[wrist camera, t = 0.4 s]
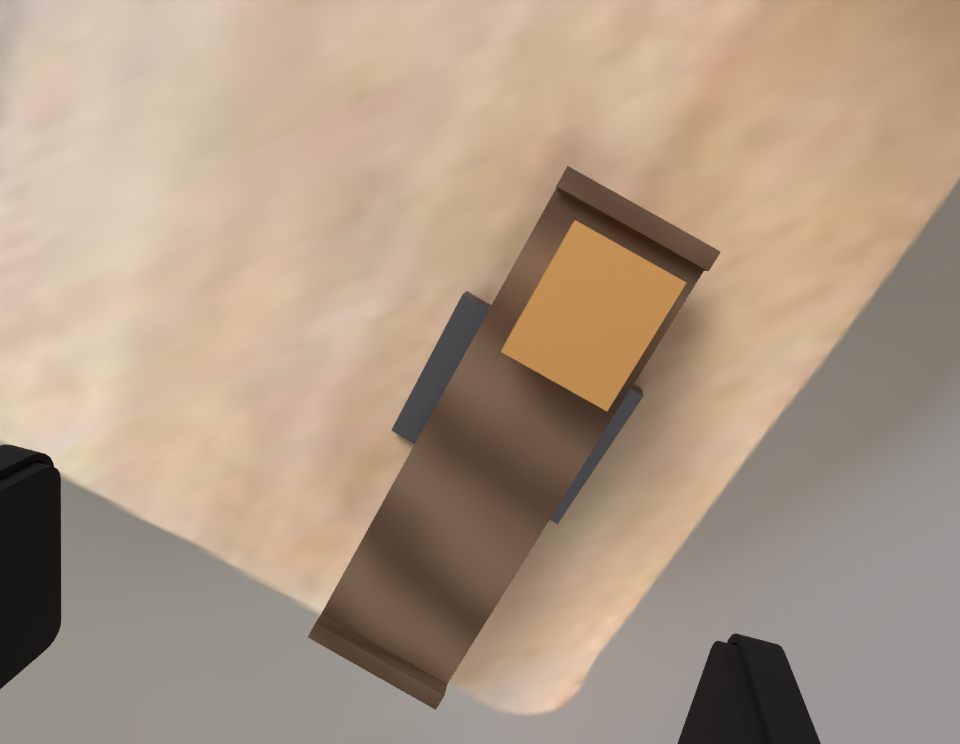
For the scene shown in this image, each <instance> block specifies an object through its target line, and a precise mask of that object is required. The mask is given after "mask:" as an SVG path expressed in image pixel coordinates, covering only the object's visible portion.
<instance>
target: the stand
mask: <svg viewBox="0 0 960 744" xmlns="http://www.w3.org/2000/svg"><path fill="white" fill-rule="evenodd" d="M491 306H492V305H490V304H488V303H486V302H485V301H483V300H481V299H479V298H477V297H476V296H474V295H472V294H470V293H469V292H467V291H466V292H465V293H464V294H463V295H462V297H461V299H460V301H459V303H458V305H457V306H456V308H455V310H454V312H453V314H452V316H451V318H450V320H449V322H448V324H447V325H446V327H445V329H444V331H443V333H442V335H441V337H440V339H439V341H438V343H437V345H436V346H435V348H434V350H433V352H432V354H431V356H430V358H429V360H428V362H427V364H426V366H425V367H424V369H423V371H422V373H421V375H420V377H419V379H418V381H417V383H416V385H415V387H414V388H413V390H412V392H411V394H410V396H409V398H408V400H407V402H406V404H405V406H404V408H403V409H402V411H401V413H400V415H399V417H398V419H397V421H396V423H395V425H394V427H393V429H392V431H394V432H395V433H397V434H399V435H401V436H403V437H404V438H406V439H408V440H410V441H411V442H413V443H416V442H417V440H418V438H419V436H420V434H421V433H422V431H423V429H424V427H425V425H426V423H427V422H428V420H429V418H430V416H431V414H432V413H433V411H434V409H435V407H436V405H437V404H438V402H439V400H440V398H441V396H442V394H443V393H444V391H445V389H446V387H447V385H448V384H449V382H450V380H451V378H452V376H453V375H454V373H455V371H456V369H457V367H458V365H459V364H460V362H461V360H462V358H463V356H464V355H465V353H466V351H467V349H468V347H469V346H470V344H471V342H472V340H473V338H474V337H475V335H476V333H477V331H478V329H479V327H480V326H481V324H482V322H483V320H484V318H485V317H486V315H487V313H488V311H489V309H490V308H491ZM642 397H643V391H642V390H641V389H639V388H638V387H636V386H634V385H633V386H632V387H631V389H630V390H629V392H628V394H627V395H626V397H625V398H624V400H623V402H622V403H621V405H620V406H619V408H618V410H617V411H616V413H615V415H614V416H613V418H612V419H611V421H610V423H609V424H608V426H607V427H606V429H605V431H604V432H603V434H602V435H601V437H600V439H599V440H598V442H597V444H596V445H595V447H594V448H593V450H592V452H591V453H590V455H589V456H588V458H587V460H586V461H585V463H584V464H583V466H582V468H581V469H580V471H579V473H578V474H577V476H576V477H575V479H574V481H573V482H572V484H571V485H570V487H569V489H568V490H567V492H566V493H565V495H564V497H563V498H562V500H561V502H560V503H559V505H558V506H557V508H556V510H555V511H554V513H553V514H552V516H551V518H550V520H552V521H553V522H555V523H558V522H559V521H560V519H561V518H562V516H563V515H564V513H565V512H566V510H567V509H568V507H569V506H570V504H571V503H572V501H573V500H574V498H575V497H576V495H577V494H578V492H579V491H580V489H581V488H582V486H583V485H584V483H585V482H586V480H587V479H588V477H589V476H590V474H591V473H592V471H593V470H594V468H595V467H596V465H597V464H598V462H599V461H600V459H601V458H602V456H603V455H604V454H605V452H606V451H607V449H608V448H609V446H610V445H611V443H612V442H613V440H614V439H615V437H616V436H617V434H618V433H619V431H620V430H621V428H622V427H623V425H624V424H625V422H626V421H627V419H628V418H629V416H630V415H631V413H632V412H633V410H634V409H635V407H636V406H637V404H638V403H639V401H640V400H641V398H642Z"/></svg>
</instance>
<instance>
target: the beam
mask: <svg viewBox="0 0 960 744" xmlns="http://www.w3.org/2000/svg"><path fill="white" fill-rule="evenodd" d="M575 220H576V221H578V222H579V223H581V224H583V225H585V226H587V227H588V228H590V229H592V230H594V231H595V232H597V233H599V234H601V235H603V236H604V237H606V238H608V239H610V240H611V241H613V242H615V243H617V244H619V245H620V246H622V247H624V248H626V249H628V250H629V251H631V252H633V253H635V254H636V255H638V256H640V257H642V258H644V259H645V260H647V261H649V262H651V263H652V264H654V265H656V266H658V267H660V268H661V269H663V270H665V271H667V272H669V273H670V274H672V275H674V276H676V277H677V278H679V279H681V280H683V281H685V282H686V285H685V286H684V288H683V290H682V291H681V293H680V294H679V296H678V298H677V299H676V301H675V303H674V304H673V306H672V307H671V309H670V311H669V312H668V314H667V315H666V317H665V319H664V320H663V322H662V324H661V325H660V327H659V328H658V330H657V332H656V333H655V335H654V337H653V338H652V340H651V341H650V343H649V345H648V346H647V348H646V350H645V351H644V353H643V354H642V356H641V358H640V359H639V361H638V362H637V364H636V366H635V367H634V369H633V371H632V372H631V374H630V375H629V377H628V379H627V380H626V382H625V384H624V385H623V387H622V388H621V390H620V392H619V393H618V395H617V396H616V398H615V400H614V401H613V403H612V405H611V406H610V408H609V409H608V411H605V410H603V409H602V408H600V407H598V406H596V405H595V404H593V403H591V402H589V401H587V400H586V399H584V398H582V397H580V396H579V395H577V394H575V393H573V392H571V391H570V390H568V389H566V388H564V387H563V386H561V385H559V384H557V383H555V382H554V381H552V380H550V379H548V378H547V377H545V376H543V375H541V374H539V373H538V372H536V371H534V370H532V369H531V368H529V367H527V366H525V365H523V364H522V363H520V362H518V361H516V360H515V359H513V358H511V357H509V356H507V355H506V354H504V353H502V352H501V350H502V348H503V347H504V345H505V343H506V341H507V339H508V337H509V335H510V333H511V331H512V329H513V328H514V326H515V324H516V322H517V321H518V319H519V317H520V315H521V313H522V312H523V310H524V308H525V306H526V305H527V303H528V301H529V299H530V297H531V296H532V294H533V292H534V290H535V289H536V287H537V285H538V283H539V282H540V280H541V278H542V276H543V274H544V273H545V271H546V269H547V267H548V266H549V264H550V262H551V260H552V259H553V257H554V255H555V253H556V251H557V250H558V248H559V246H560V244H561V243H562V241H563V239H564V237H565V235H566V234H567V232H568V230H569V228H570V227H571V225H572V223H573V222H574V221H575ZM719 254H720V251H718V250H717V249H715V248H713V247H711V246H709V245H708V244H706V243H704V242H702V241H701V240H699V239H697V238H695V237H693V236H692V235H690V234H688V233H686V232H684V231H683V230H681V229H679V228H677V227H676V226H674V225H672V224H670V223H668V222H667V221H665V220H663V219H661V218H659V217H658V216H656V215H654V214H652V213H651V212H649V211H647V210H645V209H643V208H642V207H640V206H638V205H636V204H634V203H633V202H631V201H629V200H627V199H626V198H624V197H622V196H620V195H618V194H617V193H615V192H613V191H611V190H610V189H608V188H606V187H604V186H602V185H601V184H599V183H597V182H595V181H593V180H592V179H590V178H588V177H586V176H585V175H583V174H581V173H579V172H577V171H576V170H574V169H572V168H570V167H568V166H567V168H566V170H565V172H564V173H563V175H562V177H561V179H560V181H559V183H558V184H557V188H556V190H555V192H554V193H553V195H552V197H551V199H550V201H549V202H548V204H547V206H546V208H545V210H544V211H543V213H542V215H541V217H540V219H539V221H538V222H537V224H536V226H535V228H534V230H533V231H532V233H531V235H530V237H529V239H528V240H527V242H526V244H525V246H524V248H523V250H522V251H521V253H520V255H519V257H518V259H517V260H516V262H515V264H514V266H513V268H512V269H511V271H510V273H509V275H508V277H507V279H506V280H505V282H504V284H503V286H502V288H501V289H500V291H499V293H498V295H497V297H496V298H495V300H494V302H493V304H492V306H491V308H490V309H489V311H488V313H487V315H486V317H485V318H484V320H483V322H482V324H481V326H480V327H479V329H478V331H477V333H476V335H475V337H474V338H473V340H472V342H471V344H470V346H469V347H468V349H467V351H466V353H465V355H464V356H463V358H462V360H461V362H460V364H459V365H458V367H457V369H456V371H455V373H454V375H453V376H452V378H451V380H450V382H449V384H448V385H447V387H446V389H445V391H444V393H443V394H442V396H441V398H440V400H439V402H438V404H437V405H436V407H435V409H434V411H433V413H432V414H431V416H430V418H429V420H428V422H427V423H426V425H425V427H424V429H423V431H422V433H421V434H420V436H419V438H418V440H417V442H416V443H415V445H414V447H413V449H412V451H411V452H410V454H409V456H408V458H407V460H406V462H405V463H404V465H403V467H402V469H401V471H400V472H399V474H398V476H397V478H396V480H395V481H394V483H393V485H392V487H391V489H390V491H389V492H388V494H387V496H386V498H385V500H384V501H383V503H382V505H381V507H380V509H379V510H378V512H377V514H376V516H375V518H374V520H373V521H372V523H371V525H370V527H369V529H368V530H367V532H366V534H365V536H364V538H363V539H362V541H361V543H360V545H359V547H358V549H357V550H356V552H355V554H354V556H353V558H352V559H351V561H350V563H349V565H348V567H347V568H346V570H345V572H344V574H343V576H342V578H341V579H340V581H339V583H338V585H337V587H336V588H335V590H334V592H333V594H332V596H331V597H330V599H329V601H328V603H327V605H326V607H325V608H324V610H323V612H322V614H321V615H320V617H319V619H318V620H317V622H316V623H315V625H314V627H313V629H312V630H311V632H310V634H309V636H308V638H310V639H312V640H314V641H315V642H317V643H319V644H321V645H322V646H325V647H326V648H328V649H330V650H331V651H333V652H335V653H337V654H339V655H340V656H342V657H344V658H346V659H347V660H349V661H351V662H353V663H354V664H356V665H358V666H360V667H361V668H363V669H365V670H367V671H368V672H370V673H372V674H374V675H375V676H377V677H379V678H381V679H383V680H384V681H386V682H388V683H390V684H391V685H393V686H395V687H397V688H399V689H400V690H402V691H404V692H405V693H407V694H409V695H411V696H413V697H414V698H416V699H418V700H420V701H422V702H423V703H425V704H427V705H429V706H430V707H432V708H434V709H436V708H437V707H438V705H439V703H440V702H441V700H442V698H443V697H444V695H445V691H446V687H447V684H448V682H449V680H450V679H451V677H452V675H453V674H454V672H455V671H456V669H457V667H458V666H459V664H460V663H461V661H462V659H463V658H464V656H465V655H466V653H467V651H468V650H469V648H470V646H471V645H472V643H473V642H474V640H475V638H476V637H477V635H478V634H479V632H480V630H481V629H482V627H483V626H484V624H485V622H486V621H487V619H488V617H489V616H490V614H491V613H492V611H493V609H494V608H495V606H496V605H497V603H498V601H499V600H500V598H501V597H502V595H503V593H504V592H505V590H506V588H507V587H508V585H509V584H510V582H511V580H512V579H513V577H514V576H515V574H516V572H517V571H518V569H519V568H520V566H521V564H522V563H523V561H524V559H525V558H526V556H527V555H528V553H529V551H530V550H531V548H532V547H533V545H534V543H535V542H536V540H537V539H538V537H539V535H540V534H541V532H542V530H543V529H544V527H545V526H546V524H547V522H548V521H549V519H550V518H551V516H552V514H553V513H554V511H555V510H556V508H557V506H558V505H559V503H560V502H561V500H562V498H563V497H564V495H565V493H566V492H567V490H568V489H569V487H570V485H571V484H572V482H573V481H574V479H575V477H576V476H577V474H578V473H579V471H580V469H581V468H582V466H583V464H584V463H585V461H586V460H587V458H588V456H589V455H590V453H591V452H592V450H593V448H594V447H595V445H596V444H597V442H598V440H599V439H600V437H601V435H602V434H603V432H604V431H605V429H606V427H607V426H608V424H609V423H610V421H611V419H612V418H613V416H614V415H615V413H616V411H617V410H618V408H619V406H620V405H621V403H622V402H623V400H624V398H625V397H626V395H627V394H628V392H629V390H630V389H631V387H632V386H633V384H634V382H635V381H636V379H637V377H638V376H639V374H640V373H641V371H642V369H643V368H644V366H645V365H646V363H647V361H648V360H649V358H650V357H651V355H652V353H653V352H654V350H655V348H656V347H657V345H658V344H659V342H660V340H661V339H662V337H663V336H664V334H665V332H666V331H667V329H668V328H669V326H670V324H671V323H672V321H673V319H674V318H675V316H676V315H677V313H678V311H679V310H680V308H681V307H682V305H683V303H684V302H685V300H686V299H687V297H688V295H689V294H690V292H691V290H692V289H693V287H694V286H695V284H696V282H697V281H698V279H699V278H700V276H701V274H702V273H703V271H704V270H705V271H709V270H710V268H711V267H712V265H713V263H714V262H715V260H716V259H717V257H718V255H719Z"/></svg>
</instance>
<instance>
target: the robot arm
mask: <svg viewBox="0 0 960 744" xmlns="http://www.w3.org/2000/svg"><path fill="white" fill-rule="evenodd" d="M60 625H61V478H60V473H59V471H58V469H56V468H55V467H54V465H53V462H52V460H51V458H50V457H49V456H48V455H46V454H44V453H40V452H36V451H32V450H28V449H25V448H21V447H17V446H13V445H1V446H0V689H1V688H2V687H3V686H4V685H6V684H7V683H8V682H9V681H10V680H11V679H13V678H14V677H15V676H16V675H17V674H18V673H20V672H21V671H22V670H23V669H24V668H25V667H26V666H28V665H29V664H30V663H31V662H32V661H33V660H35V659H36V658H37V657H38V656H39V655H40V654H41V653H43V652H44V651H45V650H46V649H47V648H48V647H49V646H50V645H51V643H52V642H53V641H54V639H55V638H56V636H57V634H58V632H59V629H60ZM678 744H821V743H820V741H819V739H818V736H817V733H816V731H815V728H814V726H813V723H812V721H811V718H810V716H809V713H808V710H807V708H806V705H805V703H804V700H803V698H802V695H801V693H800V690H799V688H798V685H797V682H796V680H795V677H794V675H793V672H792V670H791V668H790V665H789V662H788V660H787V657H786V655H785V652H784V650H783V649H782V647H781V646H779V645H778V644H774V643H770V642H766V641H763V640H759V639H755V638H751V637H747V636H743V635H740V634H733V635H732V636H731V637H730V638H729V640H728V642H727V643H725V642H721V641H716V642H715V643H714V644H713V646H712V648H711V650H710V653H709V656H708V659H707V662H706V665H705V667H704V670H703V673H702V676H701V679H700V681H699V684H698V687H697V690H696V693H695V696H694V698H693V701H692V704H691V707H690V710H689V713H688V716H687V718H686V721H685V724H684V727H683V730H682V733H681V735H680V738H679V741H678Z"/></svg>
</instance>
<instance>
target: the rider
mask: <svg viewBox="0 0 960 744" xmlns="http://www.w3.org/2000/svg"><path fill="white" fill-rule="evenodd" d="M685 285H686V282H685V281H683V280H681V279H679V278H677V277H676V276H674V275H672V274H670V273H669V272H667V271H665V270H663V269H661V268H660V267H658V266H656V265H654V264H652V263H651V262H649V261H647V260H645V259H644V258H642V257H640V256H638V255H636V254H635V253H633V252H631V251H629V250H628V249H626V248H624V247H622V246H620V245H619V244H617V243H615V242H613V241H611V240H610V239H608V238H606V237H604V236H603V235H601V234H599V233H597V232H595V231H594V230H592V229H590V228H588V227H587V226H585V225H583V224H581V223H579V222H578V221H576V220H575V221H574V222H573V223H572V225H571V227H570V228H569V230H568V232H567V234H566V235H565V237H564V239H563V241H562V243H561V244H560V246H559V248H558V250H557V251H556V253H555V255H554V257H553V259H552V260H551V262H550V264H549V266H548V267H547V269H546V271H545V273H544V274H543V276H542V278H541V280H540V282H539V283H538V285H537V287H536V289H535V290H534V292H533V294H532V296H531V297H530V299H529V301H528V303H527V305H526V306H525V308H524V310H523V312H522V313H521V315H520V317H519V319H518V321H517V322H516V324H515V326H514V328H513V329H512V331H511V333H510V335H509V337H508V339H507V341H506V343H505V345H504V347H503V348H502V350H501V352H502V353H504V354H506V355H507V356H509V357H511V358H513V359H515V360H516V361H518V362H520V363H522V364H523V365H525V366H527V367H529V368H531V369H532V370H534V371H536V372H538V373H539V374H541V375H543V376H545V377H547V378H548V379H550V380H552V381H554V382H555V383H557V384H559V385H561V386H563V387H564V388H566V389H568V390H570V391H571V392H573V393H575V394H577V395H579V396H580V397H582V398H584V399H586V400H587V401H589V402H591V403H593V404H595V405H596V406H598V407H600V408H602V409H603V410H605V411H608V409H609V408H610V406H611V405H612V403H613V401H614V400H615V398H616V396H617V395H618V393H619V392H620V390H621V388H622V387H623V385H624V384H625V382H626V380H627V379H628V377H629V375H630V374H631V372H632V371H633V369H634V367H635V366H636V364H637V362H638V361H639V359H640V358H641V356H642V354H643V353H644V351H645V350H646V348H647V346H648V345H649V343H650V341H651V340H652V338H653V337H654V335H655V333H656V332H657V330H658V328H659V327H660V325H661V324H662V322H663V320H664V319H665V317H666V315H667V314H668V312H669V311H670V309H671V307H672V306H673V304H674V303H675V301H676V299H677V298H678V296H679V294H680V293H681V291H682V290H683V288H684V286H685Z"/></svg>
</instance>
